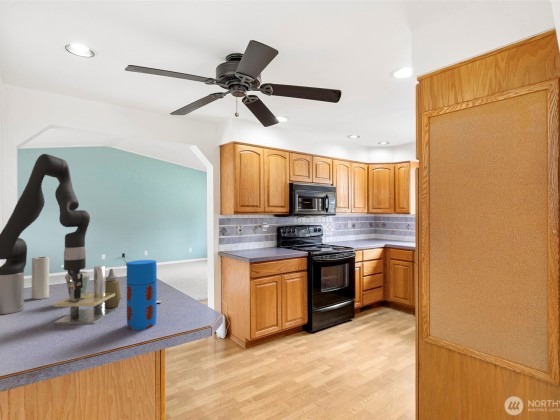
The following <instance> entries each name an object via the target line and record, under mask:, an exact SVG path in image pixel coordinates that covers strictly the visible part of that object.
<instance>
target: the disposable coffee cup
mask: <svg viewBox="0 0 560 420" xmlns="http://www.w3.org/2000/svg"><path fill="white" fill-rule="evenodd" d="M80 273H82V274H83V275H82V278H83V288H81V293H89V292H88V291H89V283H90V277H91V274H90V272H88V271H84V270H80ZM64 279H65V282H66V286H67V291H68V298H69V297H70V295H69V285H68V283H67V282H68V272H66V274H65V276H64Z"/></svg>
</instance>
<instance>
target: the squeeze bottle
mask: <svg viewBox="0 0 560 420" xmlns="http://www.w3.org/2000/svg"><path fill="white" fill-rule="evenodd" d="M120 286H121V285H120V281H119V280H118V276H117V275H115V271H114V268H109V271H108V276H105V293H115V296H113V297H111V298H109V299H107V300H105V309H115V308H116V307H117V308H118V307H119V305H120V302H121V299H122V297H121V296H122V295H121V287H120Z"/></svg>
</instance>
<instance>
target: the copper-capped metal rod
mask: <svg viewBox="0 0 560 420" xmlns="http://www.w3.org/2000/svg"><path fill="white" fill-rule="evenodd" d="M77 286H79V285H77ZM78 301H79V299H74V287H73V285H72V284H70V302H78ZM69 310H70V311H69V314H70V318H71V319H75V318H78V317H79V310H80V306H69Z"/></svg>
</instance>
